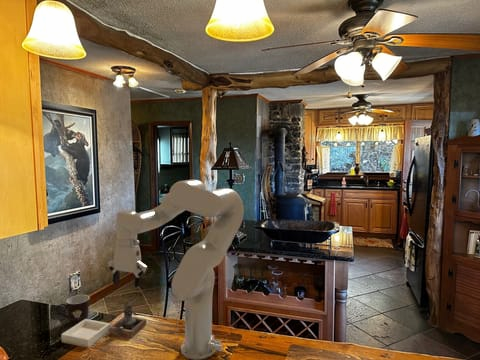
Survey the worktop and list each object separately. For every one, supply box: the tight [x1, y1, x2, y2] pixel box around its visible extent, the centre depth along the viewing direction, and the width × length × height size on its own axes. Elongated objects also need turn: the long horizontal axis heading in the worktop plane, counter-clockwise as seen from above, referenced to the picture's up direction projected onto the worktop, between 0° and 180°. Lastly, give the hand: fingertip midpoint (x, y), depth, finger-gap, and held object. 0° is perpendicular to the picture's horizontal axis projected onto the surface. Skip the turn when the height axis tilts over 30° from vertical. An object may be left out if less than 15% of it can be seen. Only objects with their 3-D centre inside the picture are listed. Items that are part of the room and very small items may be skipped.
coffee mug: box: [55, 294, 91, 328], centre depth 134 cm, size 12×9×10 cm
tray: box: [60, 318, 112, 349], centre depth 124 cm, size 12×12×3 cm
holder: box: [108, 316, 147, 339], centre depth 129 cm, size 10×10×2 cm
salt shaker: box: [120, 300, 136, 330], centre depth 129 cm, size 6×6×12 cm
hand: (127, 284), depth 128 cm, fingers open, 9 cm apart
